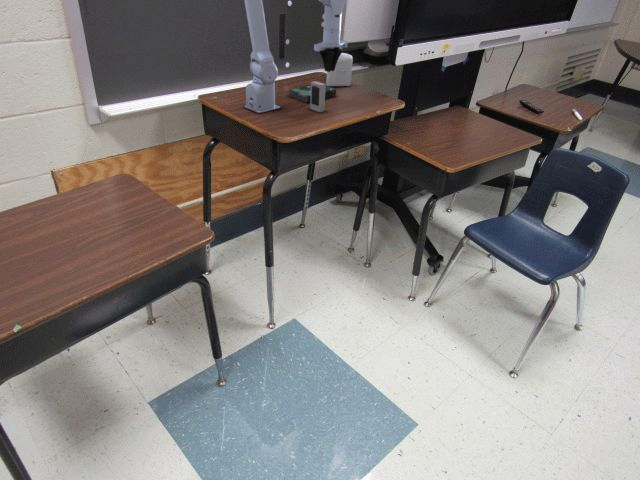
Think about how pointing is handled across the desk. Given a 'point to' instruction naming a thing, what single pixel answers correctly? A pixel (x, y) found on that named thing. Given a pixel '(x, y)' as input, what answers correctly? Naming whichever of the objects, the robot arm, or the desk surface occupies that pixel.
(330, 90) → the disk drive
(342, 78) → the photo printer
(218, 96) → the desk surface
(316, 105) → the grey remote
